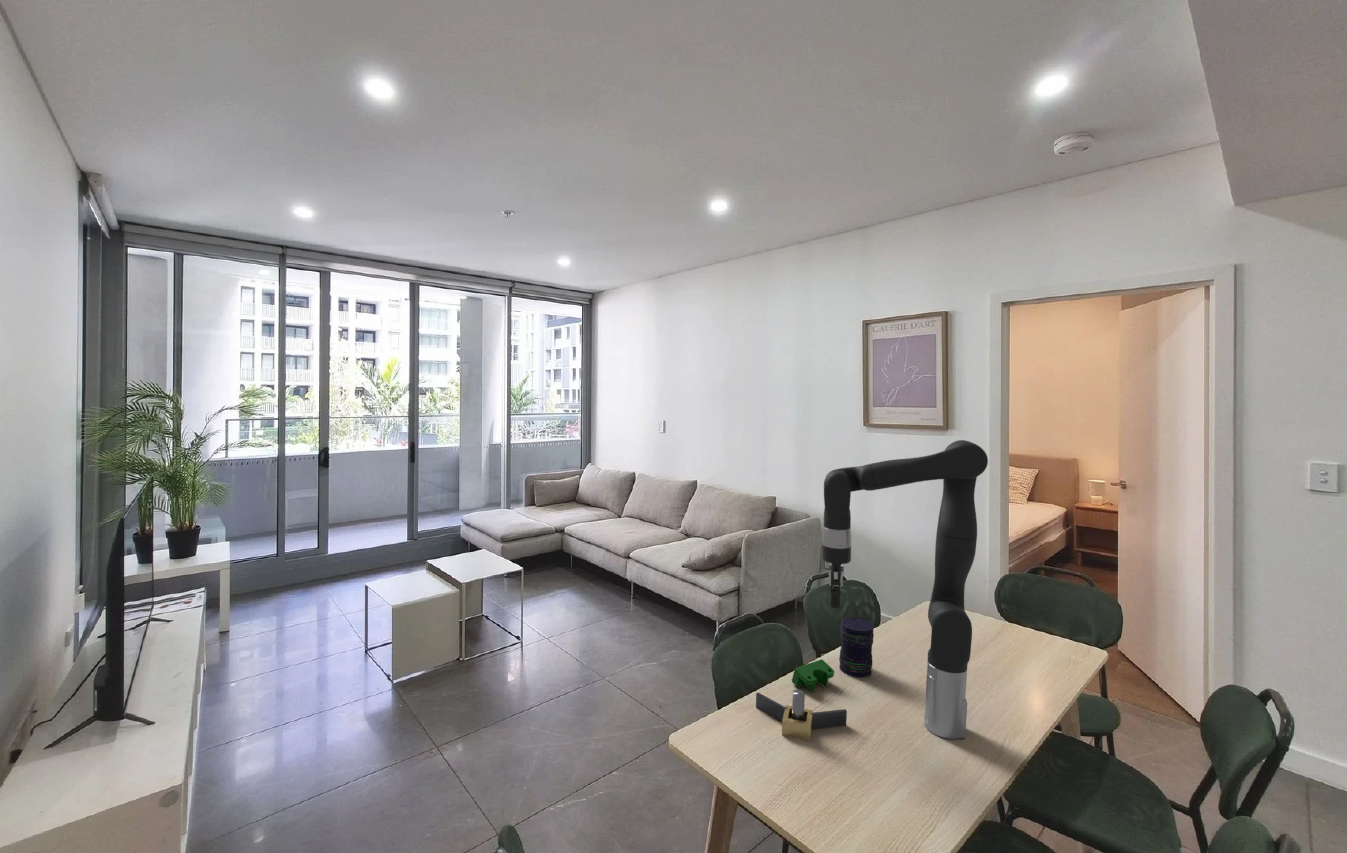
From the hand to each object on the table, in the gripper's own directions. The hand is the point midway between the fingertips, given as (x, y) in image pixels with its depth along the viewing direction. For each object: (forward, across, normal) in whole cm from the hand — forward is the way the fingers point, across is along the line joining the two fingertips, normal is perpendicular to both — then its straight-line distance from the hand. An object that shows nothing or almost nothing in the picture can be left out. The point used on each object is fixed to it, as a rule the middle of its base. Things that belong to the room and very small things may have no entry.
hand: (835, 601), depth 150 cm
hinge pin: (+30, -14, +9) cm, 34 cm away
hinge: (+30, -12, +9) cm, 33 cm away
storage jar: (+30, +24, -6) cm, 39 cm away
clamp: (+30, +10, +6) cm, 32 cm away
